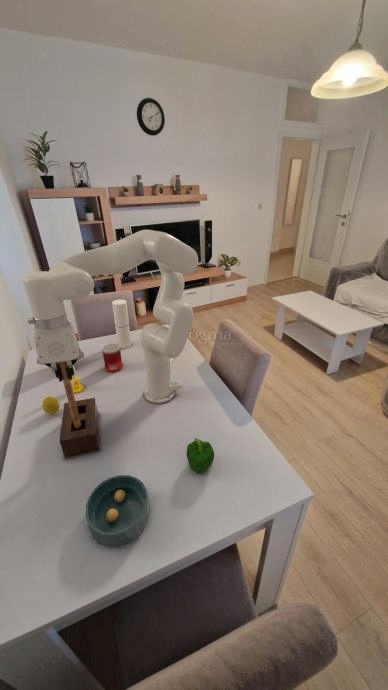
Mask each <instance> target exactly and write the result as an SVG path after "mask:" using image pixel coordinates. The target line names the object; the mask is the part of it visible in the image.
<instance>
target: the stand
mask: <svg viewBox="0 0 388 690" xmlns="http://www.w3.org/2000/svg"><path fill="white" fill-rule="evenodd" d="M75 401H76V405H77V410H78V414H79V418H80V422H81V427H79V428H75V427H74V423H73V419H72V415H71V411H70V407H69V403H68V402H64V403H63V410H62V417H61V426H60V434H59V444H60V448H61V450H62V453H63V454H62V455H63V457H64V459H68V458H72V457H77V456H78V457H79V456H82V455H86V454H91V453H95V452H99V451H100V433H99V432H100V429H99V427H100V425H99V411H98V406H97V402H96V397H91V398H85V399H80V400H75Z"/></svg>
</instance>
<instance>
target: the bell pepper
mask: <svg viewBox="0 0 388 690" xmlns="http://www.w3.org/2000/svg"><path fill="white" fill-rule="evenodd" d="M186 458H187V464H188V465H189V467H190V470H191V471H192V472H194V473H195V474H204V473H206V471H207V470H209V468H210V467H211V466H212V464H213V463H214V459H215V450H214V448H213V446H212V444H211V443H210V442H209V441H203V440H201V439H199V438H197V437H195V438H194V440H193V441H191V442H190V443H188V444H187V447H186Z"/></svg>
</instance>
